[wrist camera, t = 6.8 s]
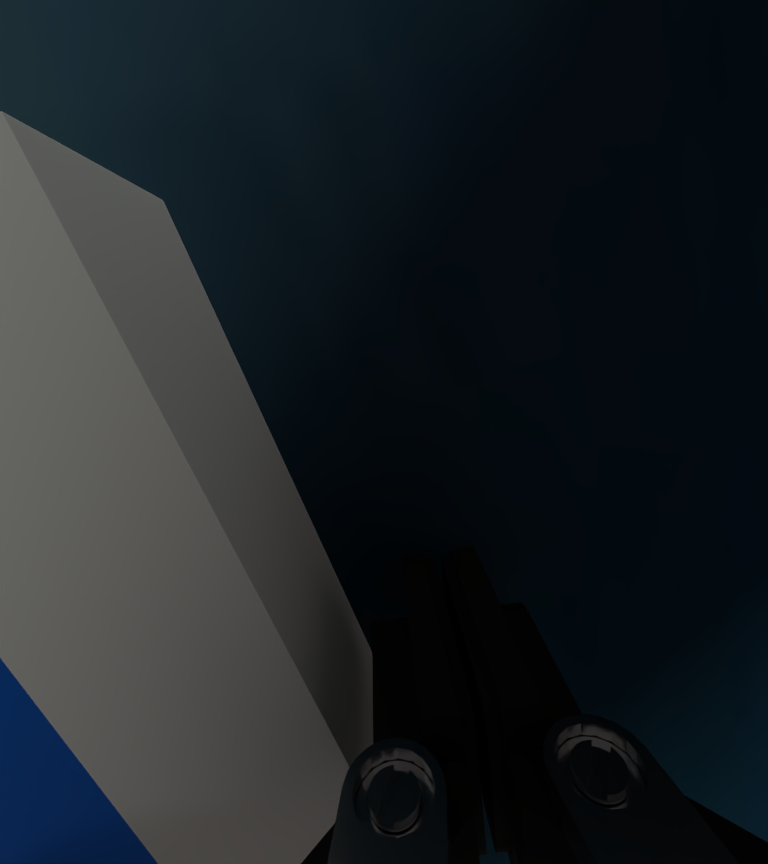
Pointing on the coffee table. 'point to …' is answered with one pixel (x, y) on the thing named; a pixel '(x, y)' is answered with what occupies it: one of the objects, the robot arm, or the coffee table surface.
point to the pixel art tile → (150, 555)
